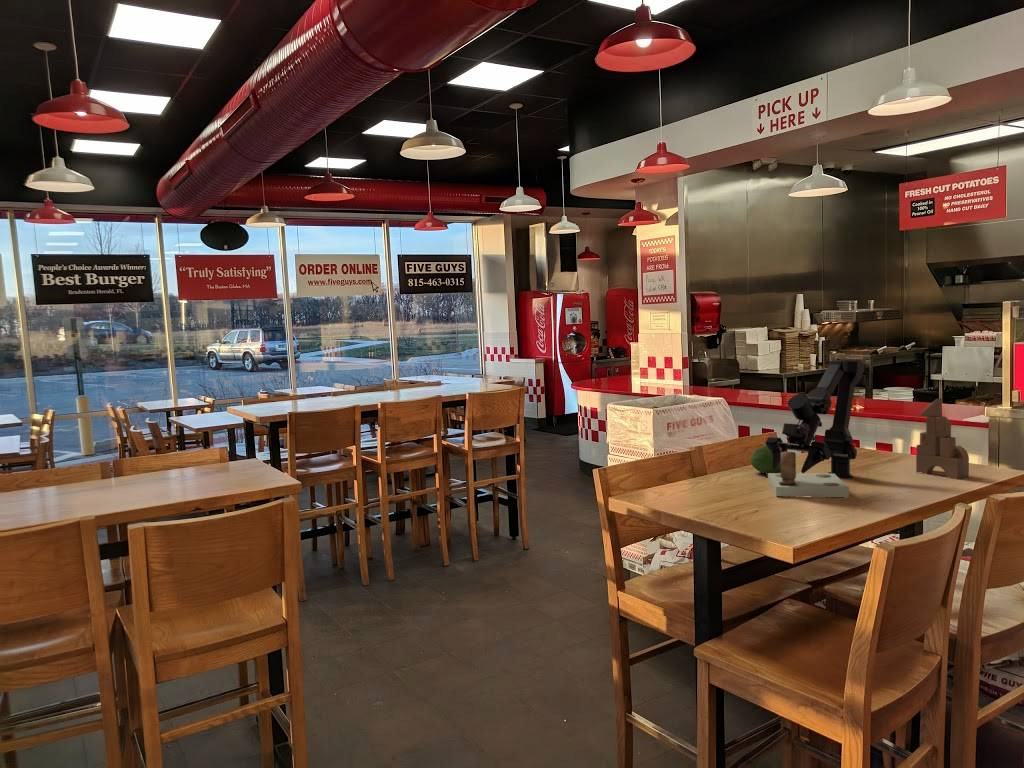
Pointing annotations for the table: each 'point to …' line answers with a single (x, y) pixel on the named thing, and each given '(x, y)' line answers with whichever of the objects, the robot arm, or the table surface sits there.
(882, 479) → the table surface
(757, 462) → the fruit
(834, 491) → the seat board
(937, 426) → the wooden toy
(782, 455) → the stool leg
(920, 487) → the table surface
